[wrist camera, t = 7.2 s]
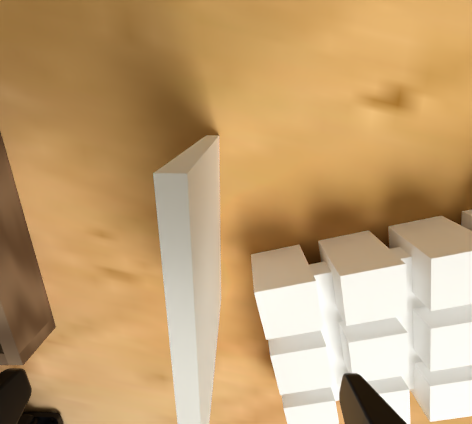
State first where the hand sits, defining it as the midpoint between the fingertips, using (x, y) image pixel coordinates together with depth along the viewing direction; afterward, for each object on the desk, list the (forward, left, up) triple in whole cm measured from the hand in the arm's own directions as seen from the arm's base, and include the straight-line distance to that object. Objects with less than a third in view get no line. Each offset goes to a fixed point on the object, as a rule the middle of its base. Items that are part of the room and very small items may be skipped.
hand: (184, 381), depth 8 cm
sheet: (0, 0, -12) cm, 12 cm away
